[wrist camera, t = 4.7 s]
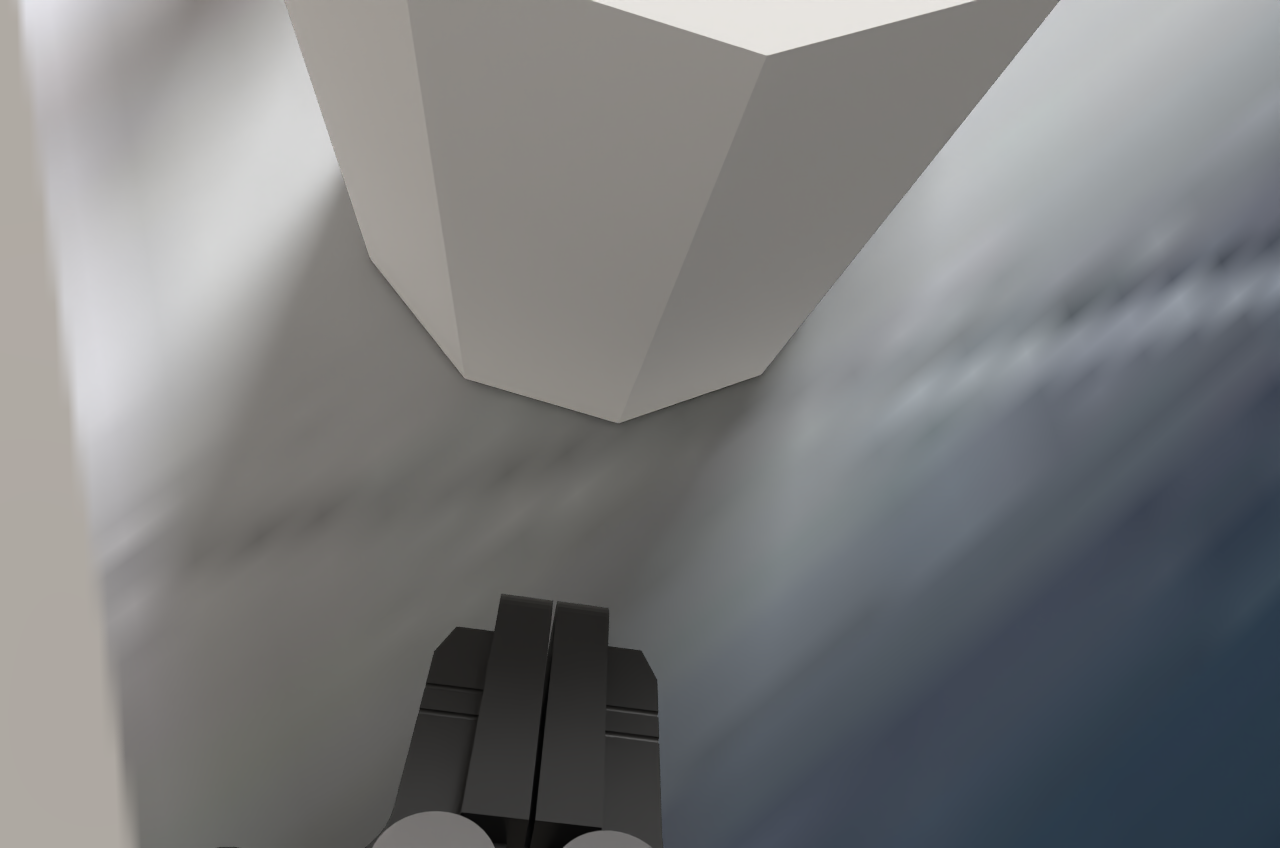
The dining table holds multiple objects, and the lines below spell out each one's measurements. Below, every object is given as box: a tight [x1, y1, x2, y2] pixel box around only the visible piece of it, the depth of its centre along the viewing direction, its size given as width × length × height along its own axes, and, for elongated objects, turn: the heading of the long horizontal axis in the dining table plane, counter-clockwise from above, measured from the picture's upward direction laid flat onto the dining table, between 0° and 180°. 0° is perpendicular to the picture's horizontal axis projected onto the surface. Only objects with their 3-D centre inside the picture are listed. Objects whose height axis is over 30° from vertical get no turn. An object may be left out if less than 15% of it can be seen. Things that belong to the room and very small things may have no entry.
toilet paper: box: [284, 0, 1060, 423], centre depth 15 cm, size 10×10×12 cm
